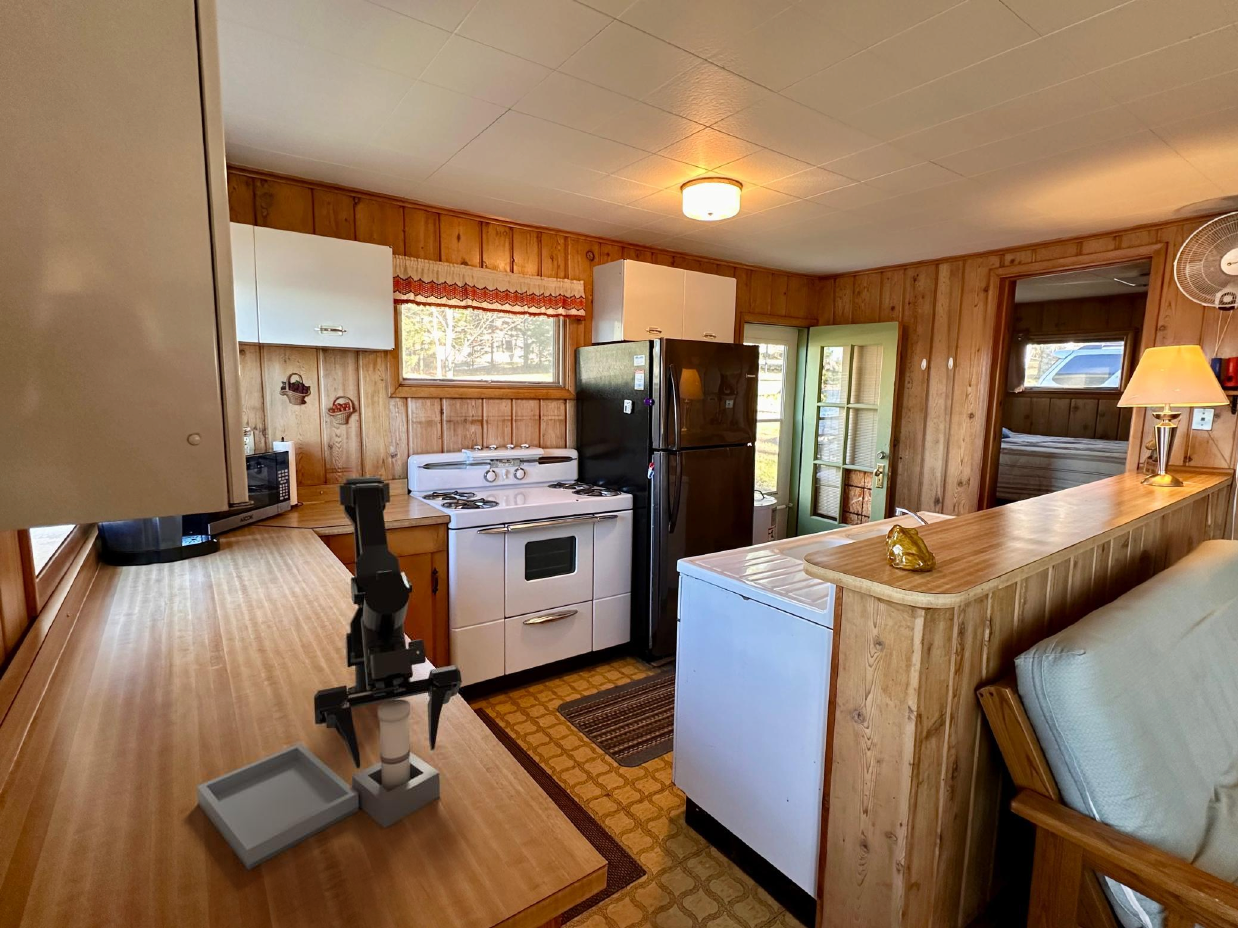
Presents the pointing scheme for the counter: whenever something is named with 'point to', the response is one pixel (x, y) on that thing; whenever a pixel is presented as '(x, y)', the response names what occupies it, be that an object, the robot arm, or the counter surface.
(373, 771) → the holder
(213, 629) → the counter surface
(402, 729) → the beige banded cylinder
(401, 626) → the robot arm
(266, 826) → the parts tray
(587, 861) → the counter surface
